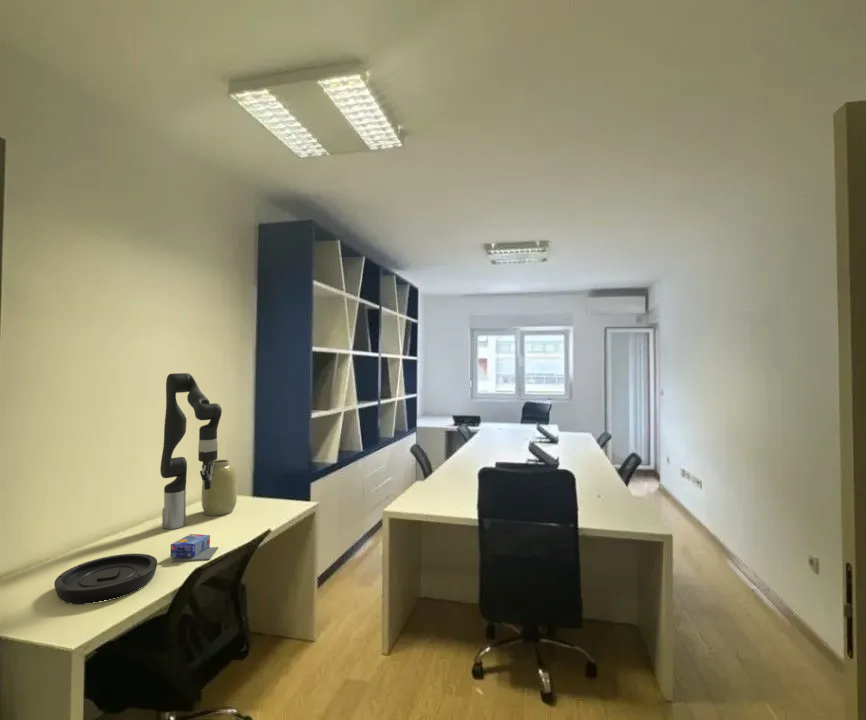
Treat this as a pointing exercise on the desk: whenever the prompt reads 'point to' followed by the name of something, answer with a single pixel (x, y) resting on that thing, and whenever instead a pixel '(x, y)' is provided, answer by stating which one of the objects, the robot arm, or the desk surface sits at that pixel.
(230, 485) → the vase
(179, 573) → the desk surface
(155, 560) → the round tray
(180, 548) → the ink cartridge box
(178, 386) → the robot arm
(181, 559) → the mat
